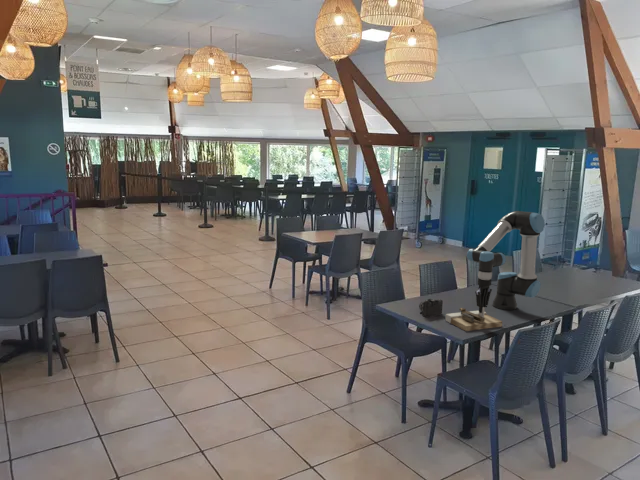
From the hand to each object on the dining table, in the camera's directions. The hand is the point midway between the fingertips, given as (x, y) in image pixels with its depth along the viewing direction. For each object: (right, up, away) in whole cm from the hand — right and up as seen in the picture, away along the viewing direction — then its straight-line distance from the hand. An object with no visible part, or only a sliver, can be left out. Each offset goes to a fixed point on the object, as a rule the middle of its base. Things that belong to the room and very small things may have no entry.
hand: (481, 317), depth 296 cm
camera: (-26, -1, +21) cm, 33 cm away
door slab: (-2, -5, +2) cm, 5 cm away
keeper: (-8, -2, -1) cm, 8 cm away
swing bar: (-5, 0, +2) cm, 6 cm away
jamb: (-6, -3, +11) cm, 12 cm away
